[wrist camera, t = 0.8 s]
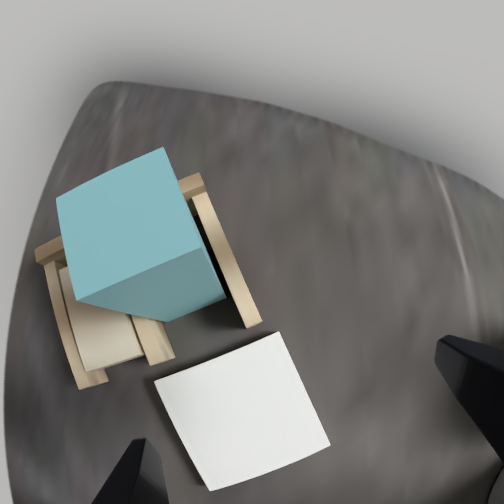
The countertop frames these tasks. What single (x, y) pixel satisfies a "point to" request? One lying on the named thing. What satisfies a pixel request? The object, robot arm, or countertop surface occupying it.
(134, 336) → the offcut top
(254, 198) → the countertop surface
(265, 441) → the white pad
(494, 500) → the canister
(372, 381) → the countertop surface
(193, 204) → the oak rack
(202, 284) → the teal rectangular block
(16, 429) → the countertop surface
